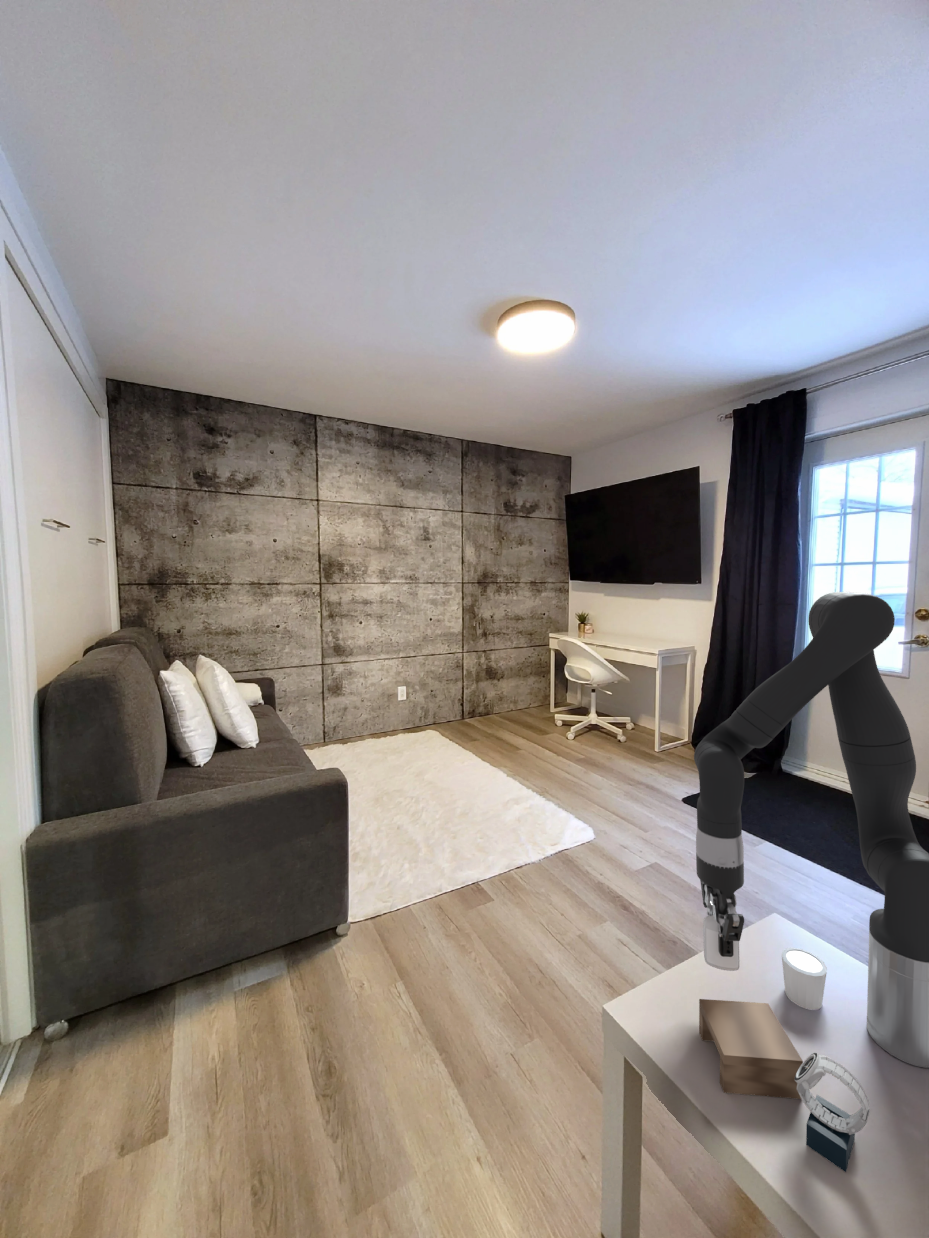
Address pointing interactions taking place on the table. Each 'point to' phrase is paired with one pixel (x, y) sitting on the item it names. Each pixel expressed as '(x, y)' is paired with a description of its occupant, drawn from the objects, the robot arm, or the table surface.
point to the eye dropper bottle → (712, 947)
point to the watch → (830, 1111)
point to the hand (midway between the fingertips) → (721, 945)
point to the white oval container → (804, 978)
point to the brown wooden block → (750, 1048)
